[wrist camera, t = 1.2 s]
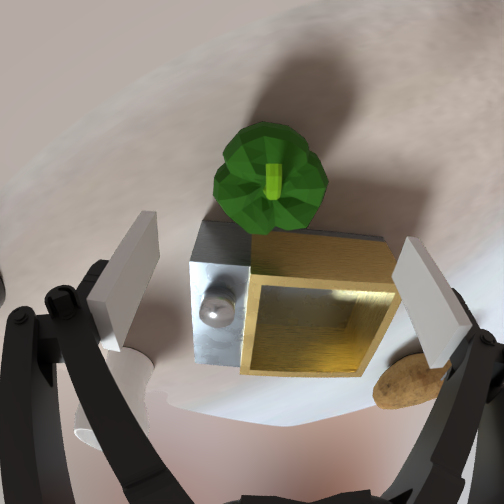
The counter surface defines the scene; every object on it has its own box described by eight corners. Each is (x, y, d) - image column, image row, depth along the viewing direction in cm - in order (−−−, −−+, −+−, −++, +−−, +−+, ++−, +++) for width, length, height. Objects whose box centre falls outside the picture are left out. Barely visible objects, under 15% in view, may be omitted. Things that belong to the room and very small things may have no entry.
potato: (364, 356, 44) (375, 401, 37) (448, 329, 41) (467, 370, 35) (368, 387, 49) (376, 426, 43) (441, 363, 46) (455, 400, 40)
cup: (106, 329, 42) (72, 418, 30) (171, 358, 45) (153, 449, 32) (95, 363, 47) (68, 438, 35) (151, 387, 50) (134, 464, 38)
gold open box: (203, 318, 40) (192, 377, 32) (202, 220, 32) (185, 276, 24) (349, 327, 40) (362, 383, 33) (382, 237, 32) (412, 292, 25)
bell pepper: (292, 211, 31) (304, 274, 23) (212, 182, 30) (192, 238, 21) (330, 134, 27) (362, 173, 18) (243, 99, 25) (235, 120, 17)
